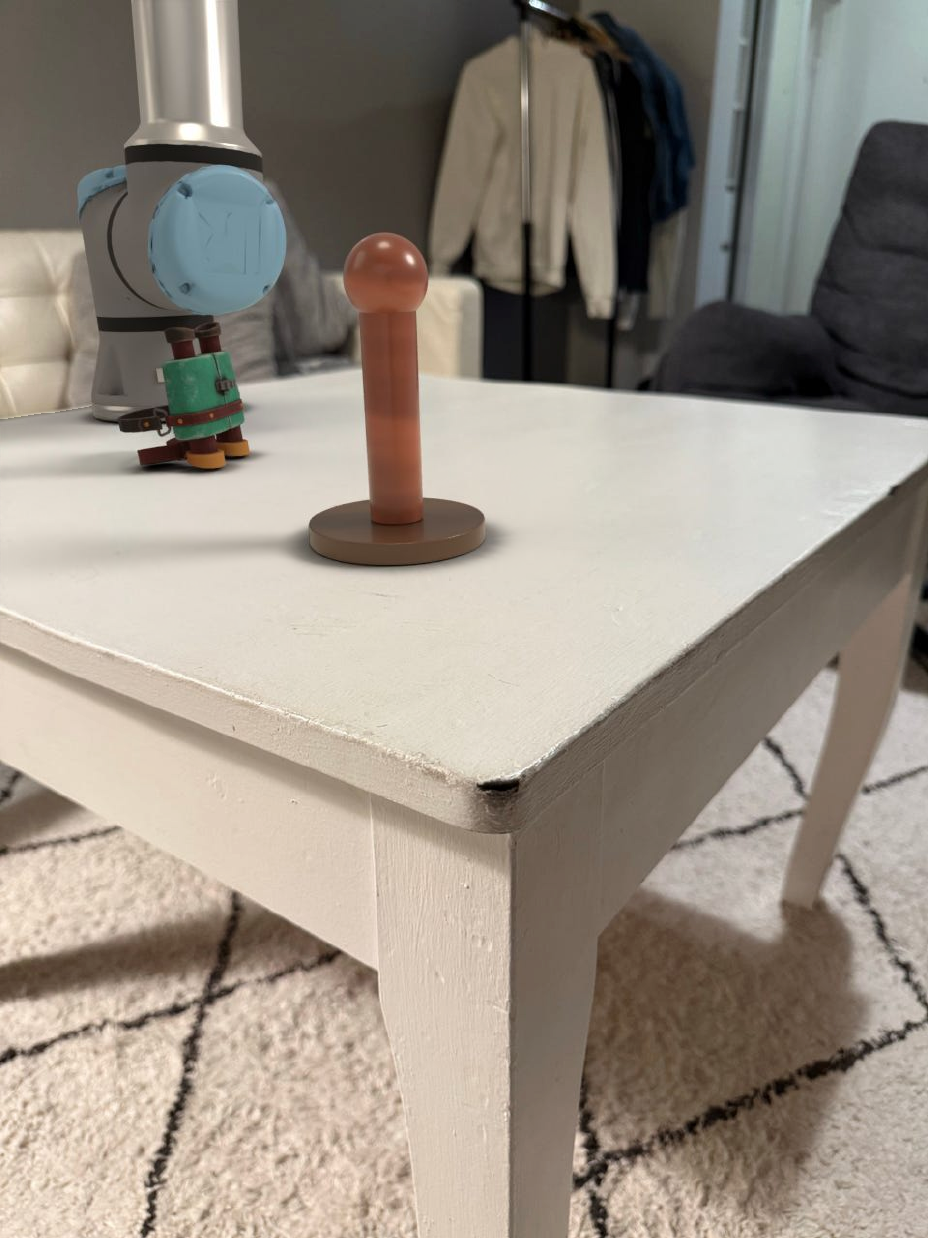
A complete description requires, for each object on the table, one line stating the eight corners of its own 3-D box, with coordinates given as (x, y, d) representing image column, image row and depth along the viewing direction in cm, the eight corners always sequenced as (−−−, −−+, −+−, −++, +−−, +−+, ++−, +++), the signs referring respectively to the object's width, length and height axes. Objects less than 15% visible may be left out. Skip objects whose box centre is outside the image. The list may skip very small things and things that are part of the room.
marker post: (301, 523, 56) (276, 236, 50) (459, 509, 58) (453, 233, 52) (321, 574, 47) (294, 230, 41) (507, 554, 49) (507, 227, 43)
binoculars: (134, 331, 75) (245, 317, 73) (164, 458, 79) (270, 448, 77) (70, 340, 67) (192, 325, 65) (106, 481, 71) (223, 471, 69)
